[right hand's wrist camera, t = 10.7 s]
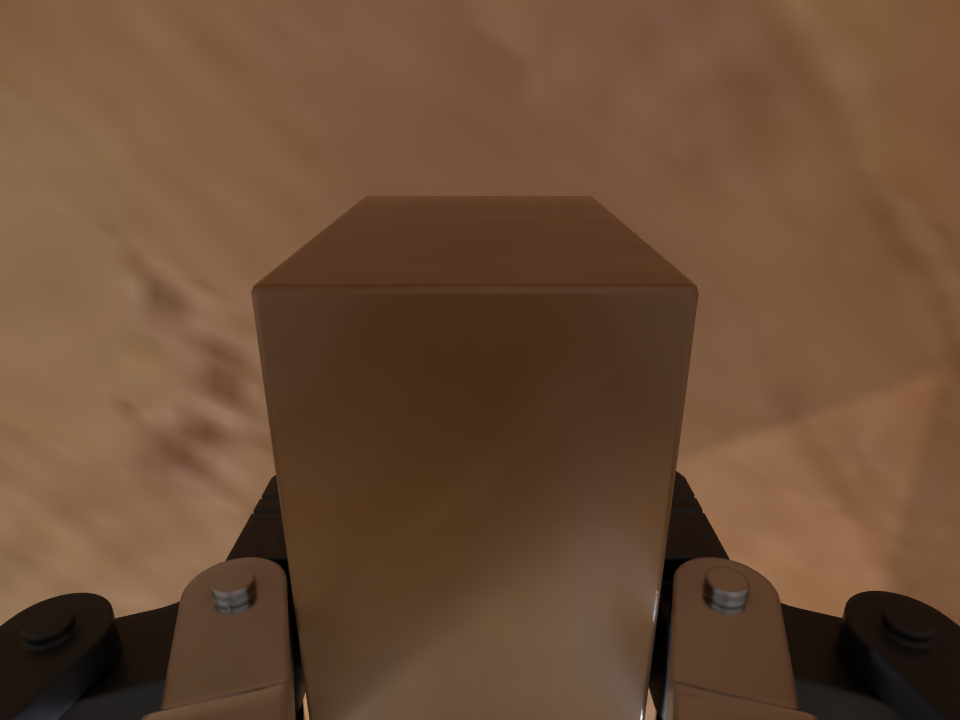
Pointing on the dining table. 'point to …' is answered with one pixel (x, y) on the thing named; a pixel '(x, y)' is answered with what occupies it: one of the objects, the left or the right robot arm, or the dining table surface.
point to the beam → (475, 455)
